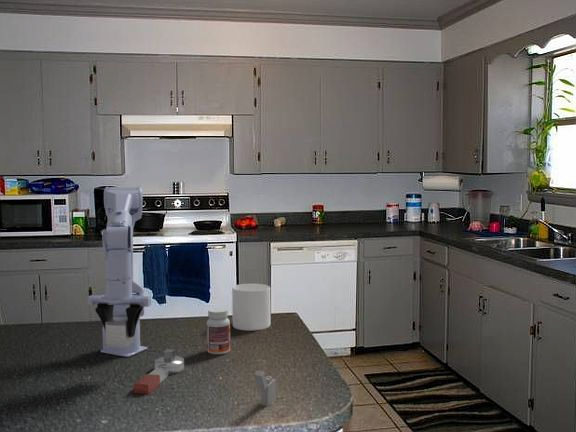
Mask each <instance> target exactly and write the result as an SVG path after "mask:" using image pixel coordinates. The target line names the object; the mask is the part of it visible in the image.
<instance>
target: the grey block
mask: <svg viewBox="0 0 576 432" xmlns="http://www.w3.org/2000/svg"><path fill="white" fill-rule="evenodd" d="M105 326H106V347H119V348H127V347H128V346H129V345H130V344H131V343H133V342H134V336H133V337H129V335H128V319H127V316H113V317H111V318H110V319H108V320H107V321H106V322H105Z"/></svg>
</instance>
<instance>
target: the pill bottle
mask: <svg viewBox="0 0 576 432" xmlns="http://www.w3.org/2000/svg"><path fill="white" fill-rule="evenodd" d="M228 312H229V311H228V308H226V307H211V308H209V309H208V310H207V317H208V319H207V321H206V350H207V353H208V354H211V355H224V354H227V353H230V352H231V322H230V321H231V320H230V319H229V318H228V316H229V315H228V314H229V313H228Z"/></svg>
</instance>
